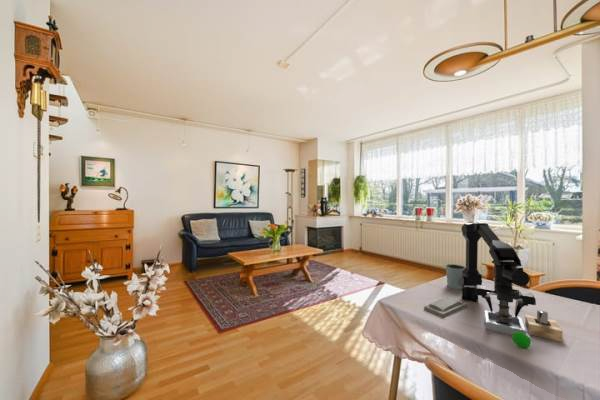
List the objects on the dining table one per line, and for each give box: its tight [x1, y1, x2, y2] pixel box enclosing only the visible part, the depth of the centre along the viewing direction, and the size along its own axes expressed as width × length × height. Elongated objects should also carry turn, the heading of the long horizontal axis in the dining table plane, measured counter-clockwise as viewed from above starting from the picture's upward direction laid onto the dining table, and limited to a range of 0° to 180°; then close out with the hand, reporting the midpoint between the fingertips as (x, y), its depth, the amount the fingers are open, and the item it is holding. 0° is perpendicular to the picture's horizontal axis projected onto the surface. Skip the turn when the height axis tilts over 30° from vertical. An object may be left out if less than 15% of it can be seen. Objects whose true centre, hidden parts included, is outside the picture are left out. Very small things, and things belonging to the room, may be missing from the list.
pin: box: [536, 309, 549, 325], centre depth 96 cm, size 3×3×8 cm
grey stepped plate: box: [423, 297, 468, 319], centre depth 118 cm, size 10×20×4 cm, turn 119°
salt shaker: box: [494, 300, 514, 326], centre depth 100 cm, size 6×6×12 cm
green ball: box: [512, 332, 532, 349], centre depth 88 cm, size 5×5×5 cm
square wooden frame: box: [524, 314, 563, 343], centre depth 96 cm, size 9×9×4 cm
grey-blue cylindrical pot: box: [445, 263, 466, 290], centre depth 145 cm, size 10×10×12 cm
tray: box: [484, 309, 527, 336], centre depth 101 cm, size 12×12×3 cm
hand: (503, 314), depth 101 cm, fingers closed on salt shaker, 7 cm apart
